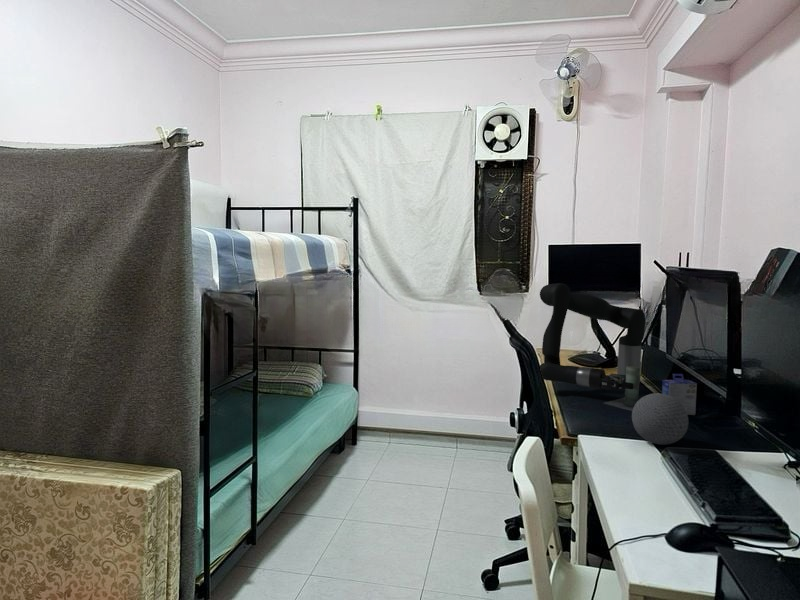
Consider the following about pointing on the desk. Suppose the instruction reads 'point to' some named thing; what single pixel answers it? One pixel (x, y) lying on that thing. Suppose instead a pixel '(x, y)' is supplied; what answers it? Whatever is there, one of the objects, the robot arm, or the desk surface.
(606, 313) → the robot arm
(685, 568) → the desk surface
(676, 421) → the decorative ball
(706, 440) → the desk surface
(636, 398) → the green pillar
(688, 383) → the ink cartridge box
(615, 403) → the tapping mat
